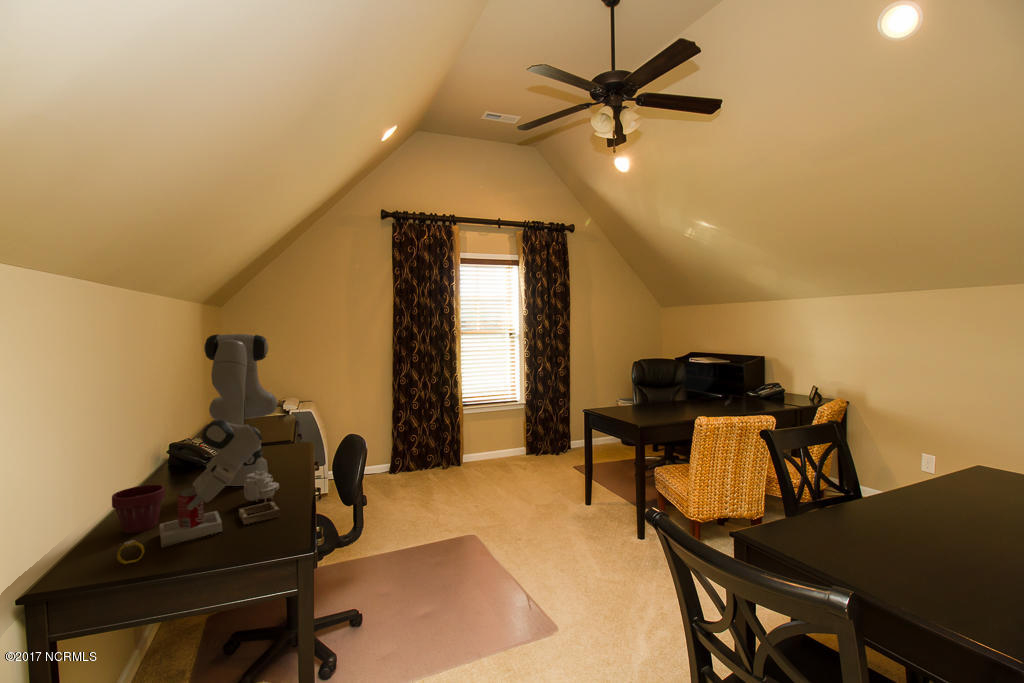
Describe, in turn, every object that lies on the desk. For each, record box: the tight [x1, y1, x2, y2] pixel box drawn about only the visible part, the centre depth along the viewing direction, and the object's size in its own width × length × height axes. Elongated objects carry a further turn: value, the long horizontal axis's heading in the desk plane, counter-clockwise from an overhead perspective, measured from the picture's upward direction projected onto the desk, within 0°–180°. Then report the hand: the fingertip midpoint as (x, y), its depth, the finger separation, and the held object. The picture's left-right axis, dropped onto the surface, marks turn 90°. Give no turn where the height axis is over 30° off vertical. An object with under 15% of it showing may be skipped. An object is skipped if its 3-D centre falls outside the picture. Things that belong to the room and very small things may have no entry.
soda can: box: [176, 486, 205, 529], centre depth 153 cm, size 7×7×12 cm
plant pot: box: [111, 483, 166, 534], centre depth 159 cm, size 14×14×13 cm
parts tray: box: [159, 510, 223, 549], centre depth 153 cm, size 13×16×4 cm
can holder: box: [238, 500, 281, 526], centre depth 165 cm, size 11×11×2 cm
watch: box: [116, 539, 145, 565], centre depth 134 cm, size 6×3×6 cm, turn 116°
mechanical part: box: [243, 471, 280, 503], centre depth 181 cm, size 11×12×12 cm
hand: (187, 506), depth 152 cm, fingers closed on soda can, 5 cm apart
